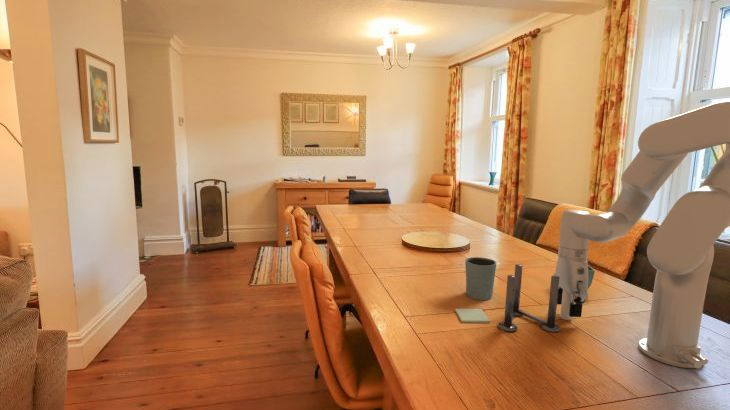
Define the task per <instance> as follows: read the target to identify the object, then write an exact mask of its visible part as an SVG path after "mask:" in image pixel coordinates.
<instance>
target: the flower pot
mask: <svg viewBox="0 0 730 410" xmlns="http://www.w3.org/2000/svg"><path fill="white" fill-rule="evenodd" d="M595 272H596V270H595V269H594V268H592V267H591V266H590V265H589V264H588V290H589V289H590V287H591V286H592V284H593V280H594V276H595V274H596V273H595ZM575 292H578V291H575Z"/></svg>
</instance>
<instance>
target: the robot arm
mask: <svg viewBox="0 0 730 410" xmlns="http://www.w3.org/2000/svg"><path fill="white" fill-rule="evenodd" d="M720 145H725V149H724V151H723V152H722V153H723V154H722V155H721V157H720V158H719V159H718V160H717V161H716V163H715V164H714V165H713V166H712V167H711V170H710V172H709V173H708V175H707V177H705V179H704V181H702V183H701V185H700V186H699V187H698V188H697V189H696V188H695V189H692V190H690V191H688V192H687V193H685V194H683V195H682V196H681V197H679V199H678V200H676V202H675V203H674V204H673V206H672V207H671V208H670V210H669V211H668V213H667V215H666V216H665V217H664V219H663V221H662V222H661V224H660V225H659V226H658V228H657V230H656V231H655V233H654V234H653V235H652V237H651V239H650V240H649V243H648V245H647V248H646V255H647V256H646V257H647V258H648V261H649V263H650V264H651V266H652V267H653V268H654V269H656V273H655V280H654V286H653V291H652V298H651V305H650V306H651V307H650V313H649V320H648V329H647V336H646V337H644V338H642V339H639V341H638V346H637V347H638V348H639V350H640V351H641V352H642V353H643V354H644V355H645V356H647V357H649V358H652V359H653V360H655V361H658V362H661V363H663V364H666V365H669V366H673V367H677V368H684V369H701V368H702V367H703V365H707V364H708V362H709V360H708V358H705V357H704V356H703V355H702V354H701V349H702V348H701V347H700V346H699V345H698V344H699V343H698V342H699V336H700V331H701V323H702V317H703V311H704V305H705V299H706V293H707V288H708V282H709V277H710V274H711V270H712V266H713V262H714V256H715V247H714V245H715V243H716V242H717V240H719V238H720V236H721V235H722V234H723V233H724V231H725V230H726V228H728V227H730V99H729V100H722V101H718V102H716V103H715V102H714V103H712V104H709V105H706V106H702V107H699V108H697V109H693V110H691V111H688V112H685V113H682V114H678V115H675V116H671V117H669V118H666V119H663V120H659V121H656V122H654V123H652V124H649V126H647V127H646V128H645V129H643V131H642V132H641V133H640V135H639V138H638V139H637V146H638V149H639V151H638V153H637V154H636V155H635V157H634V158H633V159H632V160H631V162H630V163H629V164H628V166H627V167H626V168H625V170H624V171H623V172H622V174H621V178H620V181H621V191H620V194H619V195H618V197H617V198H616V200H615V201H614V202H613V204H612V205H611V206H610V208H609V209H608V210H607V211H606V212H604V213H603V212H602V213H598V214H597V213H596V214H591V213H590V212H589V211H587V210H583V209H565V210H564V211H563V212H562V213H561V218H560V219H561V220H560V228H559V229H560V230H559V237H558V238H559V239H558V249H557V251H558V252H557V260H556V261H557V262H556V266H555V273H554V274H553V276H559V277H560V278H559V288H558V299H557V305H561V304H562V293H563V290H565V291H566V292H568V293H569V294H570V295H571V300H572V303H570V311H569V316H570V317H573V318H580V317H582V315H583V314H582V312H583V305H584V303H585V302H586V299H587V298H588V296H589V293H588V292H589V291H588V290H589V289H588V265H589V264H588V255H589V246H590V245H589V244H590V241H591V242H595V243H600V244H602V243H604V244H605V243H608V242H611V241H615V240H617V239H620V238H623V237H624V236H626V235H627V234H628V233H629V232H630V231H631V230H632V228H634V226H635V225H636V224H637V223H638V222H639V221H640V220H641V218H642V217H643V216H644V214H645V213H646V212H647V210H648V208H649V206H650V205H651V203H652V201H653V200H654V198H655V197H656V194H657V193H658V191H659V190H660V189H661V188H662V186H663V185H664V184H665V183H666V181H667V180H668V179H669V178H670V176H671V175H672V174H673V173H674V172H675V171H676V169H677V168H678V167H679V165H680V164H681V163H682V162H683V161H684V159H685V158H686V157H687V156H688V155H689V153H693V152H698V151H702V150H704V149H708V148H712V147H716V146H717V147H718V146H720ZM574 291H578V292H574ZM575 296H576V297H575ZM577 296H578V297H577Z"/></svg>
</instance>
